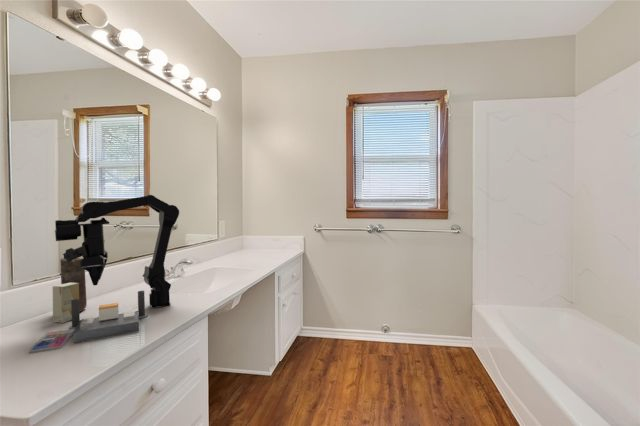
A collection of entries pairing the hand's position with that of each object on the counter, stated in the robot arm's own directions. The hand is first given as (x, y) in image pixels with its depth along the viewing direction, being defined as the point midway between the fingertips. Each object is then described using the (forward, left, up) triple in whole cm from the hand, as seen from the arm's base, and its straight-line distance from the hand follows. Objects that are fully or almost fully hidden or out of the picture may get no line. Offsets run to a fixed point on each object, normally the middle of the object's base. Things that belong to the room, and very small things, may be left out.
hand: (96, 282), depth 112 cm
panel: (-4, +17, -12) cm, 21 cm away
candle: (+8, -14, -13) cm, 20 cm away
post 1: (+5, +8, -12) cm, 16 cm away
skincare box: (+9, -4, -13) cm, 16 cm away
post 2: (-13, +8, -12) cm, 20 cm away
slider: (-4, +14, -9) cm, 17 cm away
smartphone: (+9, +17, -13) cm, 23 cm away
